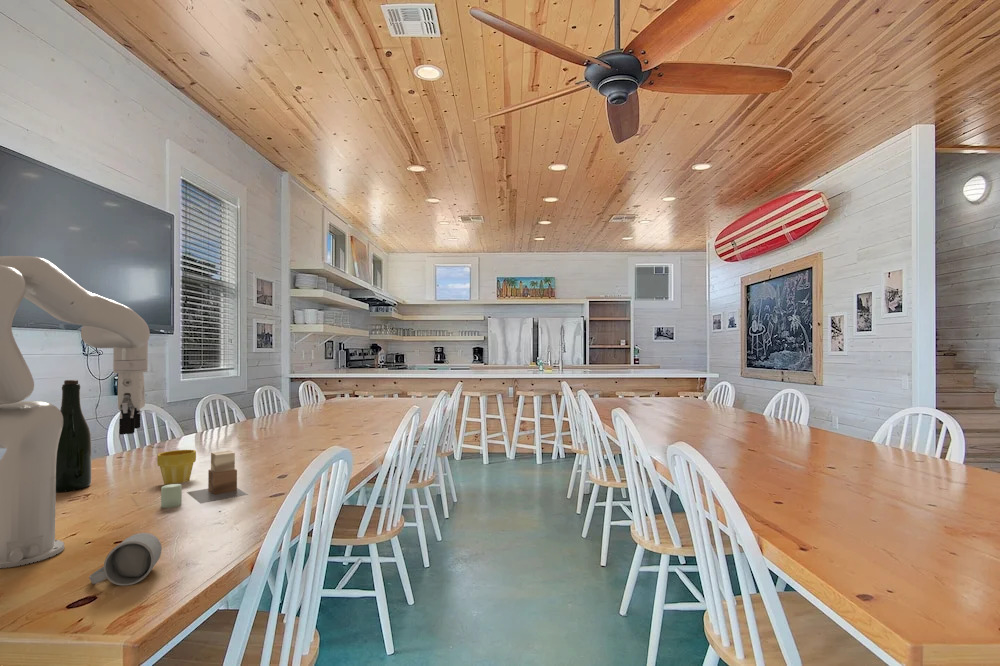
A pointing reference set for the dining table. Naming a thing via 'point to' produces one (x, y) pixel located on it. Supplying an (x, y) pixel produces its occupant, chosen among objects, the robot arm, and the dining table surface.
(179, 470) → the plant pot
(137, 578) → the ceramic mug
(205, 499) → the slate board
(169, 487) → the pale green rounded piece
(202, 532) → the dining table surface
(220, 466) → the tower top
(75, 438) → the beer bottle
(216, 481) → the tower base
